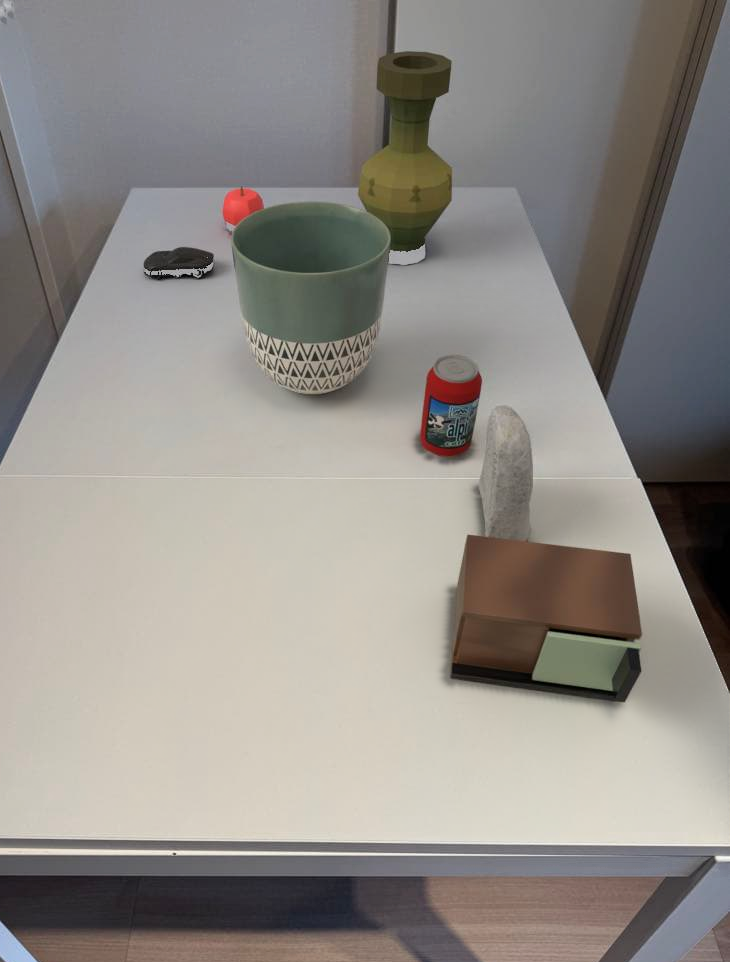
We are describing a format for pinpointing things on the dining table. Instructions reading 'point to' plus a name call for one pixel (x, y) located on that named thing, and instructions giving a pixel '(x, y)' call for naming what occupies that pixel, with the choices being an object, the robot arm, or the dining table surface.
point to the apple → (241, 205)
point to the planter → (311, 291)
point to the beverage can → (450, 405)
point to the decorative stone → (506, 476)
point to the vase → (408, 151)
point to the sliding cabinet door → (589, 663)
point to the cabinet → (536, 608)
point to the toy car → (177, 260)
